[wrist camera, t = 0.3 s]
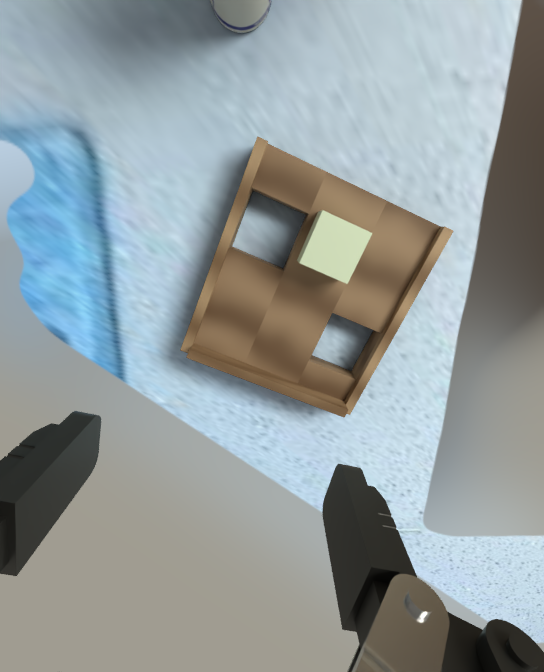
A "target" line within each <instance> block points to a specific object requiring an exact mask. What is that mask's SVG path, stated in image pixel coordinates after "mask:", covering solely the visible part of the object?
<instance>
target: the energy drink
mask: <svg viewBox="0 0 544 672" xmlns="http://www.w3.org/2000/svg"><path fill="white" fill-rule="evenodd" d="M210 1H211V5H212V8H213V11H214V13H215V15H216V17H217V18H218V20H219V21H220V22H221V23H222V24H223V25H224V26H225V27H226V28H228V29H229V30H232V31H234V32H239V33H246V32H249V31H252V30H254V29H256V28H257V27H258V26H259V25H260V24H262V22H263V21H264V20H265V18H266V16H267V14H268V12H269V9H270V5H271V0H210Z"/></svg>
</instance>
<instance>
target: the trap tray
mask: <svg viewBox="0 0 544 672" xmlns="http://www.w3.org/2000/svg"><path fill="white" fill-rule="evenodd" d="M253 191H255V192H257V193H260V194H262V195H264V196H266V197H268V198H270V199H273V200H275V201H277V202H279V203H281V204H284V205H286V206H288V207H290V208H292V209H294V210H297V211H299V212H301V213H303V214H305V215H306V217H305V219H304V221H303V224H302V226H301V228H300V231H299V233H298V235H297V238H296V240H295V242H294V245H293V247H292V249H291V252H290V254H289V256H288V259H287V261H286V263H285V266H284V268H281V267H278V266H276V265H274V264H271V263H269V262H267V261H264V260H262V259H260V258H257V257H255V256H253V255H250V254H248V253H246V252H244V251H241V250H239V249H237V248H234V247H232V245H233V242H234V240H235V237H236V234H237V232H238V229H239V226H240V224H241V221H242V218H243V216H244V213H245V210H246V208H247V205H248V202H249V200H250V197H251V194H252V192H253ZM322 210H324V211H326V212H328V213H330V214H332V215H334V216H337V217H339V218H341V219H343V220H345V221H347V222H349V223H352V224H354V225H356V226H358V227H360V228H362V229H365V230H367V231H369V232H371V233H372V235H371V237H370V239H369V241H368V243H367V246H366V248H365V250H364V252H363V254H362V256H361V258H360V260H359V262H358V264H357V266H356V268H355V270H354V272H353V274H352V276H351V278H350V280H349V282H348V284H346V283H344V282H341V281H339V280H337V279H335V278H332V277H330V276H328V275H325V274H323V273H321V272H319V271H316V270H314V269H312V268H309V267H307V266H305V265H303V264H300V263H299V262H298V261H297V259H298V257H299V254H300V252H301V250H302V247H303V245H304V243H305V241H306V238H307V236H308V234H309V231H310V229H311V227H312V225H313V222H314V220H315V218H316V215H317V213H318V212H319V211H322ZM452 233H453V230H451V229H448V228H446V227H440V226H438V225H436V224H434V223H432V222H430V221H428V220H425V219H423V218H421V217H419V216H417V215H415V214H413V213H411V212H409V211H407V210H405V209H403V208H401V207H398V206H396V205H394V204H392V203H390V202H388V201H386V200H384V199H382V198H380V197H378V196H376V195H374V194H371V193H369V192H367V191H365V190H363V189H361V188H359V187H357V186H355V185H353V184H351V183H349V182H347V181H344V180H342V179H340V178H338V177H336V176H334V175H332V174H330V173H328V172H326V171H324V170H322V169H319V168H317V167H315V166H313V165H311V164H309V163H307V162H305V161H303V160H301V159H299V158H297V157H295V156H292V155H290V154H288V153H286V152H284V151H282V150H280V149H278V148H276V147H274V146H272V145H270V144H268V141H266V140H264V139H262V138H260V137H257V139H256V142H255V145H254V148H253V150H252V153H251V156H250V159H249V161H248V164H247V167H246V170H245V173H244V175H243V178H242V181H241V184H240V186H239V189H238V192H237V195H236V198H235V200H234V203H233V206H232V209H231V211H230V214H229V217H228V220H227V222H226V225H225V228H224V231H223V234H222V236H221V239H220V242H219V245H218V247H217V250H216V253H215V256H214V258H213V261H212V264H211V267H210V270H209V272H208V275H207V278H206V281H205V283H204V286H203V289H202V292H201V294H200V297H199V300H198V303H197V306H196V308H195V311H194V314H193V317H192V319H191V322H190V325H189V328H188V331H187V333H186V336H185V339H184V342H183V344H182V347H181V351H184V352H186V353H188V355H187V358H189V359H191V360H194V361H196V362H199V363H202V364H204V365H207V366H210V367H212V368H215V369H218V370H220V371H223V372H225V373H228V374H231V375H233V376H236V377H239V378H241V379H244V380H247V381H249V382H252V383H254V384H257V385H260V386H262V387H265V388H268V389H270V390H273V391H276V392H278V393H281V394H284V395H286V396H289V397H291V398H294V399H297V400H299V401H302V402H305V403H307V404H310V405H313V406H315V407H318V408H320V409H323V410H326V411H328V412H331V413H334V414H336V415H339V416H342V417H345V415H346V414H349V415H350V413H351V412H352V410H353V408H354V406H355V405H356V403H357V401H358V399H359V398H360V396H361V394H362V392H363V390H364V389H365V387H366V385H367V383H368V382H369V380H370V378H371V376H372V374H373V373H374V371H375V369H376V367H377V366H378V364H379V362H380V360H381V359H382V357H383V355H384V353H385V351H386V350H387V348H388V346H389V344H390V343H391V341H392V339H393V337H394V335H395V334H396V332H397V330H398V328H399V327H400V325H401V323H402V321H403V320H404V318H405V316H406V314H407V312H408V311H409V309H410V307H411V305H412V304H413V302H414V300H415V298H416V297H417V295H418V293H419V291H420V289H421V288H422V286H423V284H424V282H425V281H426V279H427V277H428V275H429V273H430V272H431V270H432V268H433V266H434V265H435V263H436V261H437V259H438V258H439V256H440V254H441V252H442V250H443V249H444V247H445V245H446V243H447V242H448V240H449V238H450V236H451V234H452ZM332 313H334V314H337V315H339V316H341V317H344V318H346V319H348V320H351V321H353V322H356V323H358V324H360V325H363V326H365V327H367V328H370V329H372V330H373V332H372V334H371V336H370V338H369V339H368V341H367V343H366V345H365V347H364V349H363V350H362V352H361V354H360V356H359V358H358V360H357V362H356V363H355V365H354V367H353V369H352V371H350V370H347V369H345V368H342V367H340V366H337V365H335V364H332V363H330V362H327V361H325V360H322V359H320V358H317V357H315V356H312V353H313V351H314V349H315V347H316V345H317V343H318V341H319V339H320V337H321V335H322V333H323V331H324V329H325V327H326V325H327V323H328V321H329V319H330V317H331V315H332Z"/></svg>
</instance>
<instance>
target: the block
mask: <svg viewBox="0 0 544 672" xmlns="http://www.w3.org/2000/svg"><path fill="white" fill-rule="evenodd" d="M371 235H372V233H371V232H369V231H367V230H365V229H362V228H360V227H358V226H356V225H354V224H352V223H349V222H347V221H345V220H343V219H341V218H339V217H337V216H334V215H332V214H330V213H328V212H326V211H324V210H322V211H319V212H318V213H317V215H316V218H315V220H314V222H313V225H312V227H311V229H310V231H309V234H308V236H307V238H306V241H305V243H304V245H303V247H302V250H301V252H300V254H299V257H298V259H297V261H298V262H299V263H300V264H303V265H305V266H307V267H309V268H312V269H314V270H316V271H319V272H321V273H323V274H325V275H328V276H330V277H332V278H335V279H337V280H339V281H341V282H344V283H346V284H348V282H349V280H350V278H351V276H352V274H353V272H354V270H355V268H356V266H357V264H358V262H359V260H360V258H361V256H362V254H363V252H364V250H365V248H366V246H367V243H368V241H369V239H370V237H371Z"/></svg>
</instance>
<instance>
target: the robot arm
mask: <svg viewBox="0 0 544 672" xmlns="http://www.w3.org/2000/svg"><path fill="white" fill-rule="evenodd" d="M100 428H101V417H100V416H98V415H93V414H88V413H83V412H78V411H74V412H72V413H71V414H70V415H69V416H68V417H67V418H66V419H65V420H64V421H63V422H62V423H60V424H59V425H57V424H49V425H47V426H45V427H43V428H41V429H39V430H37V431H35V432H33V433H32V434H30V435H29V436H28V437H27V438H26V439H25V440H24V441H22V442H21V443H20V445H19V446H17V447H15V448H14V449H13V450H12V451H11V452H10V453H8V456H7V457H6V456H5V457H4V458H3V459H2V460H0V574H6V575H7V574H8V575H13V576H17V575H18V573H19V572H20V570H21V569H22V568H23V566H24V565H25V564H26V562H27V561H28V560H29V558H30V557H31V555H32V554H33V553H34V551H35V550H36V549H37V547H38V546H39V545H40V543H41V542H42V540H43V539H44V538H45V536H46V535H47V533H48V532H49V531H50V529H51V528H52V526H53V525H54V524H55V522H56V521H57V520H58V518H59V517H60V515H61V514H62V513H63V512H64V510H65V509H66V507H67V506H68V505H69V503H70V502H71V501H72V499H73V498H74V496H75V495H76V494H77V492H78V491H79V490H80V488H81V487H82V485H83V484H84V483H85V481H86V480H87V479H88V477H89V476H90V474H91V473H92V471H93V469H94V467H95V465H96V462H97V458H98V453H99V439H100ZM323 520H324V526H325V532H326V538H327V544H328V549H329V555H330V561H331V566H332V572H333V578H334V583H335V590H336V595H337V601H338V607H339V612H340V618H341V624H342V629H343V630H349V631H355V632H357V635H358V639H359V646H358V648H357V650H356V652H355V655H354V657H353V659H352V662H351V664H350V666H349V669H348V671H347V672H544V652H543V651H542V650H541V648H540V647H539V646H538V645H537V644H536V643H535V642H534V641H533V640H532V639H531V638H530V637H529V636H528V635H527V634H526V633H524V632H523V631H522V630H520V629H519V628H518V627H516V626H514V625H513V624H511V623H509V622H507V621H503V620H499V619H494V620H491V621H489V622H488V624H487V625H486V627H485V628H484V629H483V630H482V629H480V628H478V627H476V626H474V625H472V624H470V623H468V622H466V621H464V620H462V619H460V618H458V617H456V616H454V615H452V614H451V613H449V612H447V610H446V608H445V606H444V604H443V602H442V600H441V599H440V598H439V596H438V595H437V594H436V593H435V591H434V590H433V589H431V587H430V586H429V585H427V584H426V583H425V582H423V581H422V580H420V579H419V578H417V576H416V573H415V571H414V568H413V566H412V564H411V561H410V559H409V556H408V554H407V551H406V549H405V547H404V544H403V542H402V539H401V537H400V535H399V532H398V530H396V525H395V522H394V520H393V518H392V517H391V513H390V510H389V508H388V506H387V503H386V501H385V499H384V498H383V497H382V496H381V494H380V493H379V492H378V491H377V489H376V488H375V487H373V486H368V485H367V482H366V479H365V477H364V474H363V471H362V470H361V468H358V467H353V466H348V465H342V464H338V465H337V466H336V468H335V471H334V473H333V476H332V479H331V482H330V484H329V487H328V490H327V493H326V495H325V498H324V503H323Z"/></svg>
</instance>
